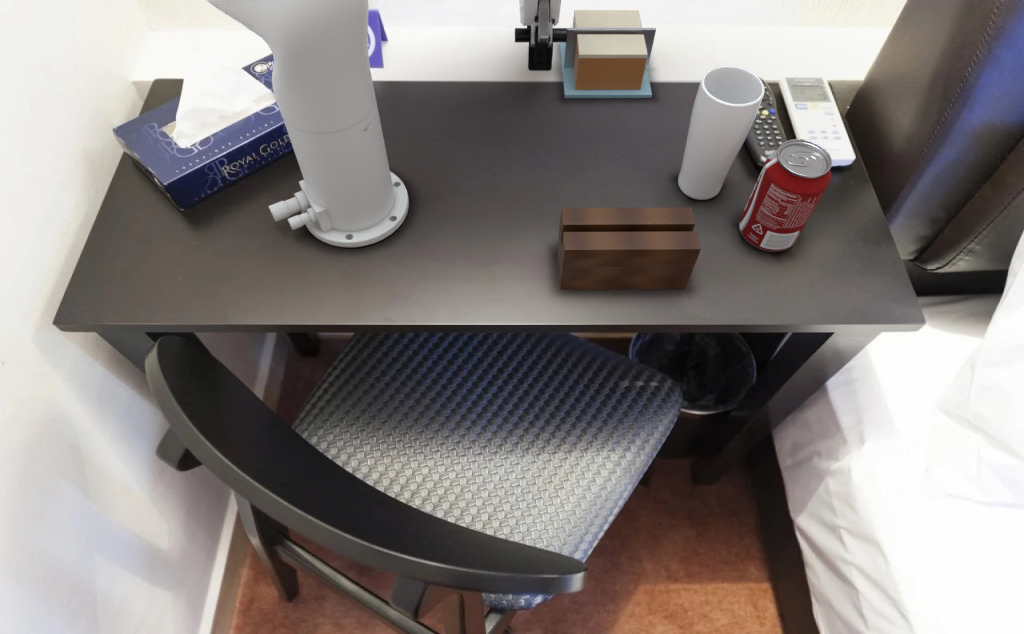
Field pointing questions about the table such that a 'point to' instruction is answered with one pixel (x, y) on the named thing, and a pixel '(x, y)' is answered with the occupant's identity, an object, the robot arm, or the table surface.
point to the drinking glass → (718, 128)
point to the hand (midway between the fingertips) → (538, 53)
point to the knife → (571, 33)
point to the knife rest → (626, 248)
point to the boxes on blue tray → (607, 58)
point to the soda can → (785, 195)
